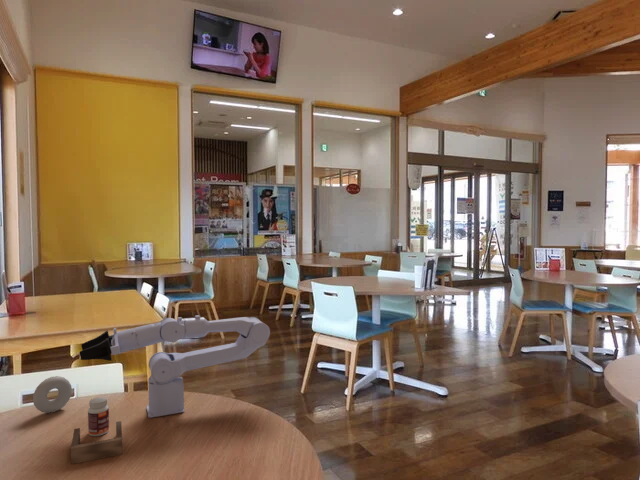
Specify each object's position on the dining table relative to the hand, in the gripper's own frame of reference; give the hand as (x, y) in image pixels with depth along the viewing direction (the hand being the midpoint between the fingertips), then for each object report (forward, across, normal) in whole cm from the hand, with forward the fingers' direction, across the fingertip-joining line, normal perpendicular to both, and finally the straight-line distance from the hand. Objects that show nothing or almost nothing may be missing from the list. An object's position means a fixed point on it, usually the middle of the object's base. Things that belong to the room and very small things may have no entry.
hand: (81, 351), depth 119 cm
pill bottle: (-1, +7, +20) cm, 21 cm away
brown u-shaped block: (-1, +16, +20) cm, 25 cm away
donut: (+11, -12, +18) cm, 24 cm away
